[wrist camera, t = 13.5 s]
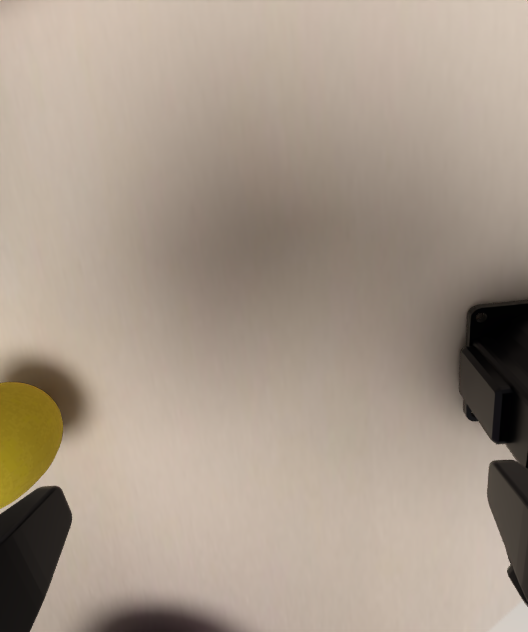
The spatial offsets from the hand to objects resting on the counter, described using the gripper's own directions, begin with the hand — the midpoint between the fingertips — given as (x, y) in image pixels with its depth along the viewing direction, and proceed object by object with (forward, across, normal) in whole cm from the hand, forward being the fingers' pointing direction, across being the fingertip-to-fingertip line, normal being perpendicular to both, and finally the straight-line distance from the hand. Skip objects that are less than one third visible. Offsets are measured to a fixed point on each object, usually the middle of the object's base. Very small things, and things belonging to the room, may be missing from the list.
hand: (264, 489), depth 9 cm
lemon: (+13, +15, +5) cm, 21 cm away
